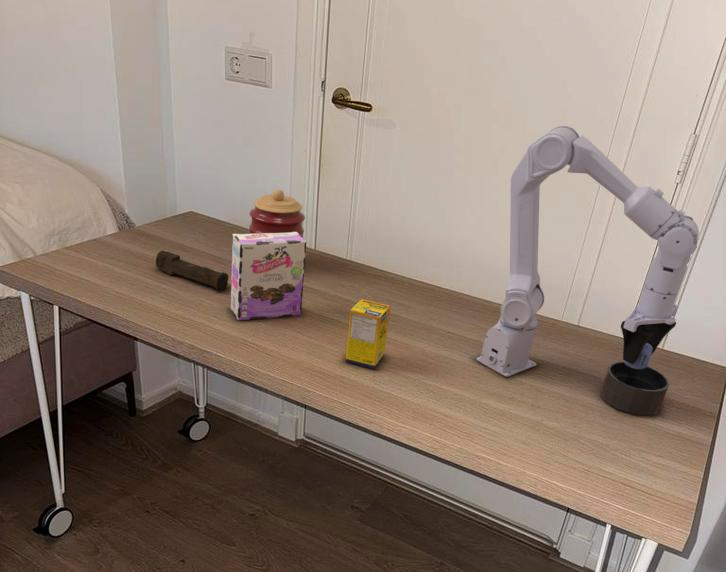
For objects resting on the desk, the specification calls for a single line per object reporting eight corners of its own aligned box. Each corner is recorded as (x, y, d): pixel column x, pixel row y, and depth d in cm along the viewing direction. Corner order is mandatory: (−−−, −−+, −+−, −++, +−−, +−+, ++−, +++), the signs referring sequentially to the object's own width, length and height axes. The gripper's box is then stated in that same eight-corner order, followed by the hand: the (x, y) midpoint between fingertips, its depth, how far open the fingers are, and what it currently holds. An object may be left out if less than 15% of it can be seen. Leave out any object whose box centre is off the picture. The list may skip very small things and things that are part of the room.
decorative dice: (623, 365, 130) (629, 346, 128) (624, 357, 133) (630, 337, 131) (645, 371, 129) (652, 352, 127) (646, 362, 132) (653, 343, 130)
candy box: (237, 321, 144) (239, 243, 135) (229, 309, 148) (231, 232, 140) (302, 316, 150) (307, 240, 141) (292, 304, 154) (297, 230, 145)
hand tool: (229, 288, 158) (230, 268, 155) (217, 293, 154) (218, 273, 152) (165, 265, 165) (164, 246, 162) (152, 270, 162) (151, 250, 159)
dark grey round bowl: (639, 423, 127) (649, 397, 124) (588, 395, 134) (596, 370, 131) (670, 406, 134) (680, 381, 131) (619, 381, 140) (628, 356, 137)
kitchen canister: (299, 275, 168) (304, 200, 159) (244, 269, 168) (246, 194, 159) (303, 256, 180) (308, 185, 170) (252, 250, 179) (254, 179, 170)
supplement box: (384, 357, 138) (391, 305, 132) (374, 370, 133) (381, 316, 127) (355, 349, 139) (361, 297, 133) (344, 362, 134) (350, 309, 129)
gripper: (660, 304, 117) (635, 377, 124) (702, 289, 125) (676, 357, 132) (623, 289, 121) (600, 359, 128) (666, 275, 130) (642, 342, 137)
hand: (637, 357), depth 130 cm, fingers closed on decorative dice, 5 cm apart
